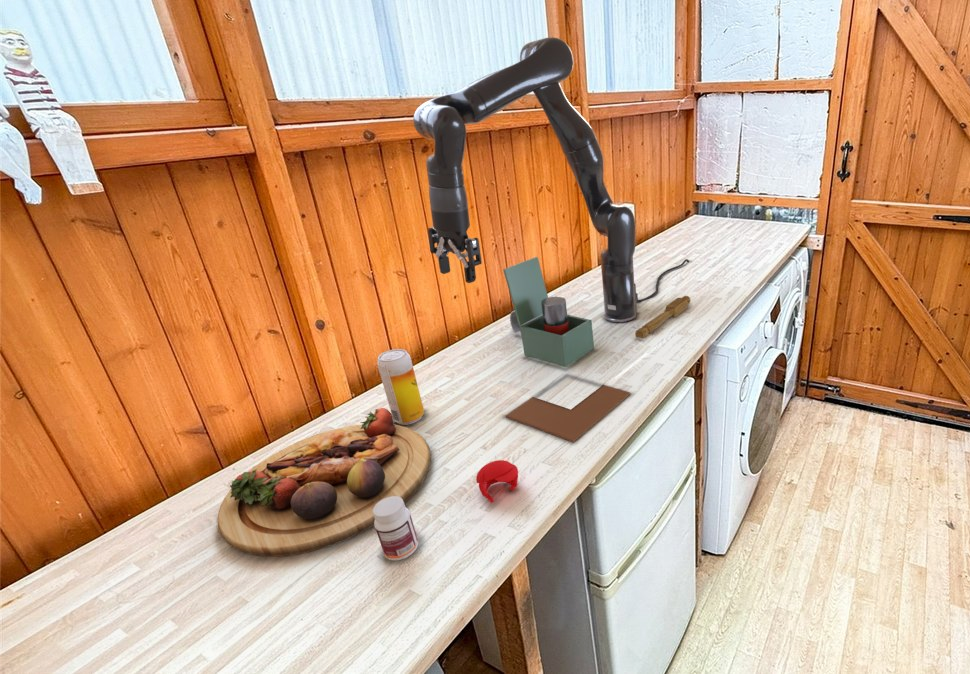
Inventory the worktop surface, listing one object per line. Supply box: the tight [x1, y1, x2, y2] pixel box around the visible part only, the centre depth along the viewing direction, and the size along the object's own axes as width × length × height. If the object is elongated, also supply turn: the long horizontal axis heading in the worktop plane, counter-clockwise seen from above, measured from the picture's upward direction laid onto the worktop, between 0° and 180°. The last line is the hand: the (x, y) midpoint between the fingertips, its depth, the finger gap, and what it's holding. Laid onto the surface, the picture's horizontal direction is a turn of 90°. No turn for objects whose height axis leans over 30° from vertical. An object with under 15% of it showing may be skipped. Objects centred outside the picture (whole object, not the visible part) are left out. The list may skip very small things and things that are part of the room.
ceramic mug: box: [509, 310, 543, 334], centre depth 147 cm, size 11×8×8 cm
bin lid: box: [502, 256, 549, 325], centre depth 132 cm, size 14×12×4 cm
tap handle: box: [634, 295, 691, 339], centre depth 151 cm, size 3×3×30 cm
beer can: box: [376, 348, 425, 426], centre depth 106 cm, size 6×6×15 cm
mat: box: [505, 384, 631, 443], centre depth 111 cm, size 20×18×1 cm
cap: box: [475, 459, 519, 504], centre depth 86 cm, size 8×6×6 cm
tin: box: [541, 296, 569, 335], centre depth 131 cm, size 6×6×14 cm
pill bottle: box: [373, 496, 419, 561], centre depth 75 cm, size 5×5×8 cm
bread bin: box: [520, 314, 595, 368], centre depth 132 cm, size 14×12×9 cm
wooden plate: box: [216, 407, 432, 557], centre depth 89 cm, size 32×32×8 cm
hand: (457, 277), depth 118 cm, fingers open, 8 cm apart
